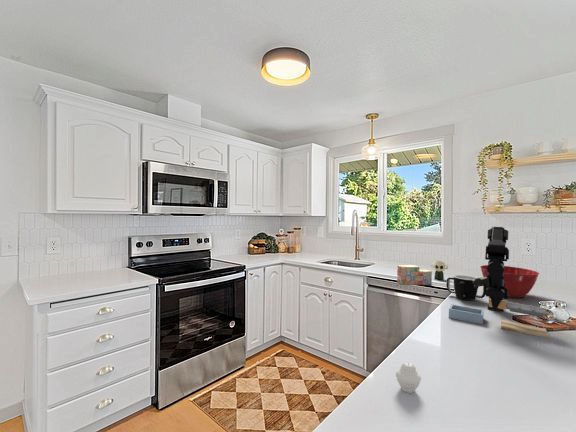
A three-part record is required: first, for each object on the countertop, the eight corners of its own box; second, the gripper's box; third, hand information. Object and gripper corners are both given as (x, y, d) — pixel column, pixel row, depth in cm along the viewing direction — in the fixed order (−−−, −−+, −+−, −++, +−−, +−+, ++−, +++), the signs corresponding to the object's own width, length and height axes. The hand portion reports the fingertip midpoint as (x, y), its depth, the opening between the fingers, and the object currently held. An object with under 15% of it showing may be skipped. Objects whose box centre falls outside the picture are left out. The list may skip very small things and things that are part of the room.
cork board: (500, 321, 133) (501, 319, 133) (545, 329, 124) (545, 328, 124) (501, 328, 124) (501, 327, 124) (549, 338, 115) (549, 336, 115)
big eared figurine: (430, 279, 218) (430, 261, 218) (431, 277, 224) (431, 260, 224) (447, 281, 213) (447, 263, 212) (447, 279, 219) (448, 261, 218)
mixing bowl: (552, 302, 165) (553, 274, 165) (499, 300, 165) (500, 273, 165) (514, 289, 193) (515, 265, 193) (469, 288, 194) (470, 264, 193)
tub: (451, 312, 143) (451, 304, 143) (483, 318, 135) (483, 309, 135) (448, 317, 136) (448, 308, 135) (482, 324, 128) (483, 315, 128)
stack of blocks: (426, 283, 206) (426, 265, 206) (431, 285, 199) (432, 266, 199) (396, 283, 203) (397, 265, 203) (401, 285, 197) (402, 266, 197)
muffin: (414, 383, 82) (414, 357, 82) (425, 396, 76) (425, 369, 76) (391, 382, 82) (392, 357, 81) (400, 396, 75) (401, 369, 75)
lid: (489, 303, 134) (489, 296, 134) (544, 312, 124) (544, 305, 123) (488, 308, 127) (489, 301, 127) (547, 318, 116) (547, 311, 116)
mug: (473, 295, 176) (473, 275, 175) (488, 303, 160) (489, 281, 159) (444, 293, 177) (444, 273, 177) (456, 301, 161) (457, 279, 161)
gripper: (475, 267, 142) (473, 300, 142) (472, 273, 126) (471, 310, 126) (503, 270, 135) (502, 304, 135) (505, 277, 120) (503, 315, 120)
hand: (494, 308), depth 130 cm, fingers closed on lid, 3 cm apart
